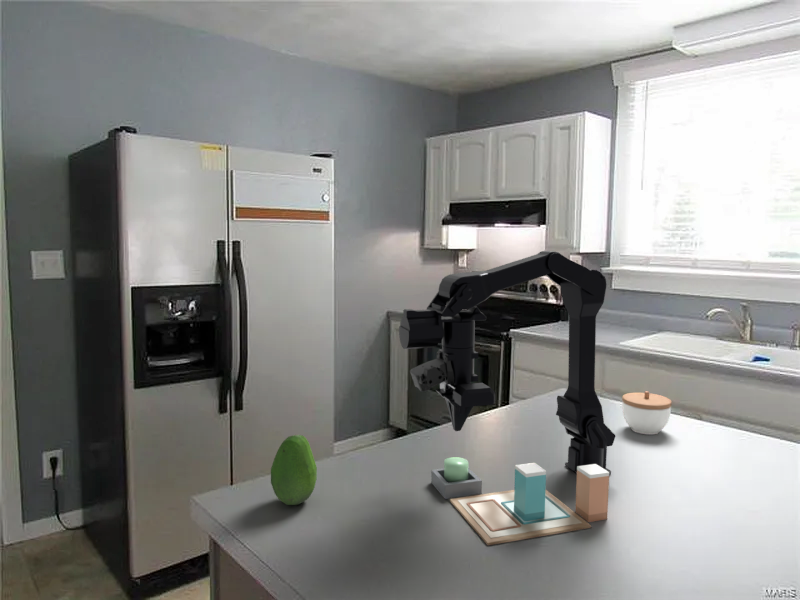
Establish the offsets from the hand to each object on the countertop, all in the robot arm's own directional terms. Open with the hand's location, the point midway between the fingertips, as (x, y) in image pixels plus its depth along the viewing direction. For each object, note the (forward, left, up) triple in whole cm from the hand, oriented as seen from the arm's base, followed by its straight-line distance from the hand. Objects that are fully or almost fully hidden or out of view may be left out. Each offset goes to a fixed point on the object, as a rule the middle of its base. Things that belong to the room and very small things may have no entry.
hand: (457, 430), depth 105 cm
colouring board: (-6, +12, -11) cm, 17 cm away
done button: (0, 0, -9) cm, 9 cm away
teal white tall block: (-7, +14, -10) cm, 19 cm away
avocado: (+29, -3, -11) cm, 31 cm away
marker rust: (-17, +16, -11) cm, 26 cm away
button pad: (0, 0, -11) cm, 11 cm away
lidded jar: (-55, -16, -11) cm, 58 cm away
